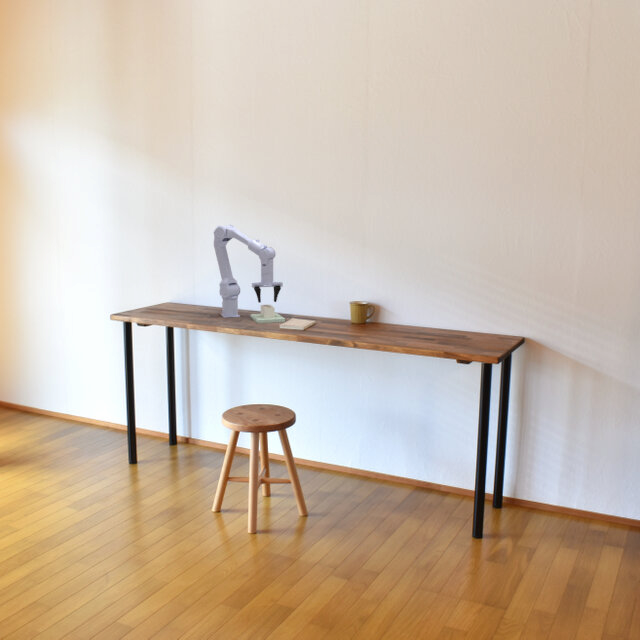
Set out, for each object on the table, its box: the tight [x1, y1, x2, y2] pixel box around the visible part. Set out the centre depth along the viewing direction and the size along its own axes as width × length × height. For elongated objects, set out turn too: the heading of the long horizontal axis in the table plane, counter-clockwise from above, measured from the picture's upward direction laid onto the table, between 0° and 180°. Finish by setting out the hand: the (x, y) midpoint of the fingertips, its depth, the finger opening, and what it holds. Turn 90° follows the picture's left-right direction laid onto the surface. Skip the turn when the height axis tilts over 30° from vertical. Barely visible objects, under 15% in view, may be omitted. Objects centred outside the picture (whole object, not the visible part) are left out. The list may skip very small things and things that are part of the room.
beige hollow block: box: [260, 304, 276, 318], centre depth 372 cm, size 9×5×5 cm, turn 18°
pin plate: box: [250, 312, 286, 324], centre depth 373 cm, size 16×13×5 cm
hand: (267, 302), depth 372 cm, fingers open, 7 cm apart
